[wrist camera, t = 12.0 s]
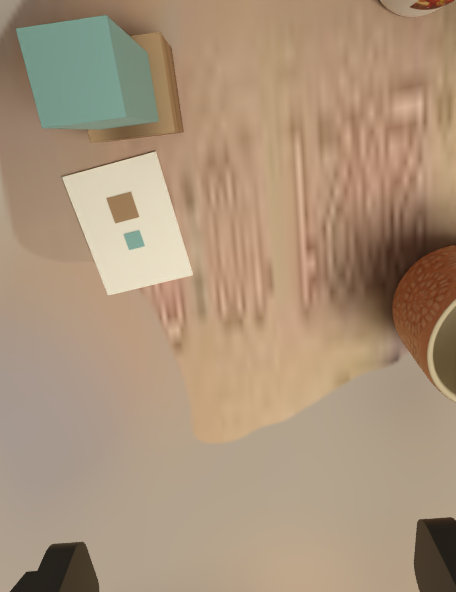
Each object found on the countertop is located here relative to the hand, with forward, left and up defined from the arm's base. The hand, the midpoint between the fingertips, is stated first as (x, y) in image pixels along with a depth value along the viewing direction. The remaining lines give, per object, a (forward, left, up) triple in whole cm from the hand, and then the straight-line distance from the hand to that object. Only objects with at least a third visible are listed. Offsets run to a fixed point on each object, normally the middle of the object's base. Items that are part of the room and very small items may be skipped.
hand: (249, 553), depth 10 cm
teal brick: (+7, -13, -26) cm, 30 cm away
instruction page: (+10, -2, -32) cm, 34 cm away
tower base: (+7, -13, -32) cm, 36 cm away
